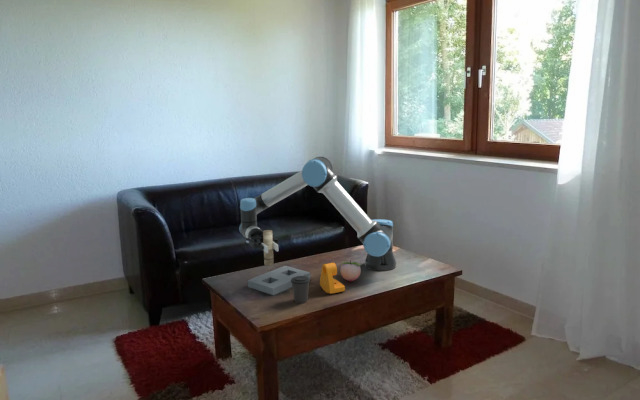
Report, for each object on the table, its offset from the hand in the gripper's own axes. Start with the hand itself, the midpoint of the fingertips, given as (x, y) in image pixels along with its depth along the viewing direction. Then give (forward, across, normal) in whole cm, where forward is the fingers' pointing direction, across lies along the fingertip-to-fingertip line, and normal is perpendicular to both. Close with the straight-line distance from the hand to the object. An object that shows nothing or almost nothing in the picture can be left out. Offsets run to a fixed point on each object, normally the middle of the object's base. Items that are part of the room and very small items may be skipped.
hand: (272, 249), depth 205 cm
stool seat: (-8, -6, -19) cm, 21 cm away
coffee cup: (+15, -6, -19) cm, 25 cm away
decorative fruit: (+6, -34, -19) cm, 40 cm away
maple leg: (-5, 0, -8) cm, 10 cm away
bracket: (+11, -23, -19) cm, 32 cm away
